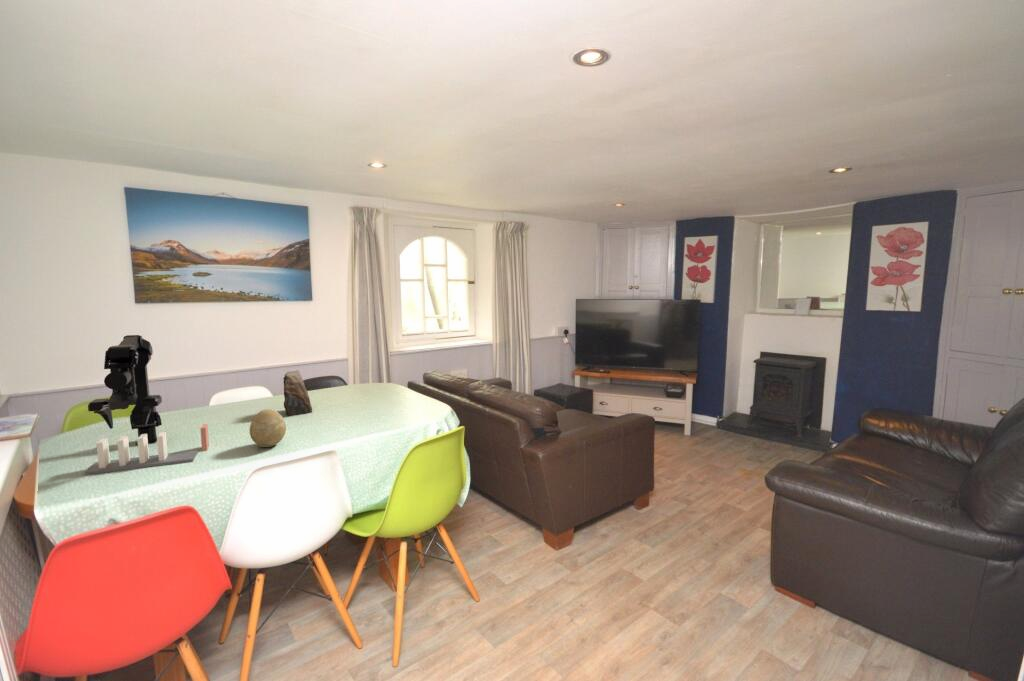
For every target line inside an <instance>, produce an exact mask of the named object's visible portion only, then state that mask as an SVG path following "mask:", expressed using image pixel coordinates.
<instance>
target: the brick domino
mask: <svg viewBox="0 0 1024 681" xmlns="http://www.w3.org/2000/svg"><path fill="white" fill-rule="evenodd" d="M199 428H200V441H201V442H200V443H201V451H202V452H205V451H206V452H207V451H208V449H209V448H210V438H209V437H210V436H209V424H208V423H205V424H202V425H201V427H199Z"/></svg>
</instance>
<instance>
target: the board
mask: <svg viewBox="0 0 1024 681" xmlns="http://www.w3.org/2000/svg"><path fill="white" fill-rule="evenodd" d="M198 453H199V452H198V450H188V451H179V452H171V453H169V452H168V456H167V458H166V459H165V460H164V461H159V456H158V454H154V455H153V454H152V455H149V459H148V460H147V461H146V463H140V462H139V456H137V457H130V461H129V462H128V463H127V464H126V465H123V466H120V464H119V458H118V459H113V460H112V459H110V463H109V464H108V465H107V466H106V467H105V468H99V463H98V461H95V462H93V463H92V465H90V466H89V467H88V468H87V469H86V470H85V471H84V473H83V474H84V476H89V475H96V474H97V475H98V474H103V473H112V472H114V473H115V472H120V471H128V470H129V471H130V470H134V469H135V470H136V469H144V468H145V469H146V468H151V467H153V468H154V467H160V466H168V465H175V464H184V463H191V462H194V460H195V458H196V456H197V455H198Z"/></svg>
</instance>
